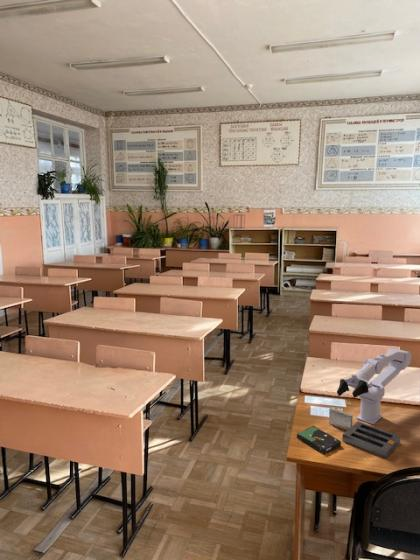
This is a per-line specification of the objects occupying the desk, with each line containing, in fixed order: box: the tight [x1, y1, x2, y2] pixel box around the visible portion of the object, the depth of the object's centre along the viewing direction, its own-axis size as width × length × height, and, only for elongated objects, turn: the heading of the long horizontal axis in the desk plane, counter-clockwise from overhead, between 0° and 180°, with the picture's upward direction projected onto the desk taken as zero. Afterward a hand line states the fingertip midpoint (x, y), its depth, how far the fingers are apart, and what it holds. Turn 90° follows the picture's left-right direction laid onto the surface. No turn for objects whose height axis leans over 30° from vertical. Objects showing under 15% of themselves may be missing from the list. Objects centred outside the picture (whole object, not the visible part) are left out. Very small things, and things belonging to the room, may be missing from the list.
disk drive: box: [296, 425, 342, 455], centre depth 174 cm, size 10×3×15 cm
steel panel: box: [328, 407, 354, 431], centre depth 185 cm, size 2×10×7 cm, turn 46°
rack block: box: [341, 421, 402, 459], centre depth 173 cm, size 14×18×3 cm
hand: (345, 394), depth 176 cm, fingers open, 7 cm apart
